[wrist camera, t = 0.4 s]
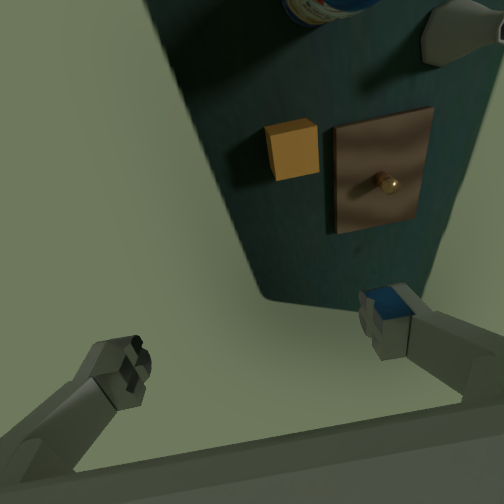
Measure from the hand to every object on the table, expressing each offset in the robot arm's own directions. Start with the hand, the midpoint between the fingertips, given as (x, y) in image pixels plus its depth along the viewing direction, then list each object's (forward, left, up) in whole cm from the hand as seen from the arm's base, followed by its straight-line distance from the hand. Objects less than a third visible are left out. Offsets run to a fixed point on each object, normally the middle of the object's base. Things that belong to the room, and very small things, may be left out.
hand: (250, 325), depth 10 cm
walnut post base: (+12, +22, -36) cm, 44 cm away
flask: (-6, +30, -36) cm, 47 cm away
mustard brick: (+4, +8, -36) cm, 37 cm away
